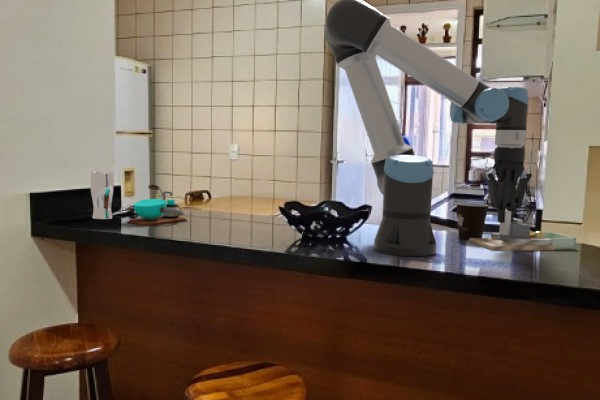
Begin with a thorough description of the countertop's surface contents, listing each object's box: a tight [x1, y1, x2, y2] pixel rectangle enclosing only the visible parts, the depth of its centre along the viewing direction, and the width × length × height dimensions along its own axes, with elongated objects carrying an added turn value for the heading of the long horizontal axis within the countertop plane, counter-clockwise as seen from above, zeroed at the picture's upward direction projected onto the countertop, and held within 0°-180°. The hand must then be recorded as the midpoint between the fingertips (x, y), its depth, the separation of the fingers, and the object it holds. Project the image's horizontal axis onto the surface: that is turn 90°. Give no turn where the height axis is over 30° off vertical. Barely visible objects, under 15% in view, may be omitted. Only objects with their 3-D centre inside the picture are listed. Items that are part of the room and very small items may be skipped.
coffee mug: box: [456, 202, 489, 241], centre depth 154 cm, size 12×9×10 cm
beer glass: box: [90, 171, 115, 220], centre depth 170 cm, size 7×7×15 cm
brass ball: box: [532, 230, 545, 239], centre depth 142 cm, size 3×3×3 cm
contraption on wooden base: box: [126, 184, 188, 227], centre depth 165 cm, size 14×18×15 cm
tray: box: [532, 231, 577, 250], centre depth 145 cm, size 7×10×3 cm
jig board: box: [468, 232, 556, 251], centre depth 143 cm, size 18×12×3 cm, turn 101°
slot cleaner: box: [500, 217, 531, 242], centre depth 143 cm, size 5×6×6 cm
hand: (504, 234), depth 142 cm, fingers closed
